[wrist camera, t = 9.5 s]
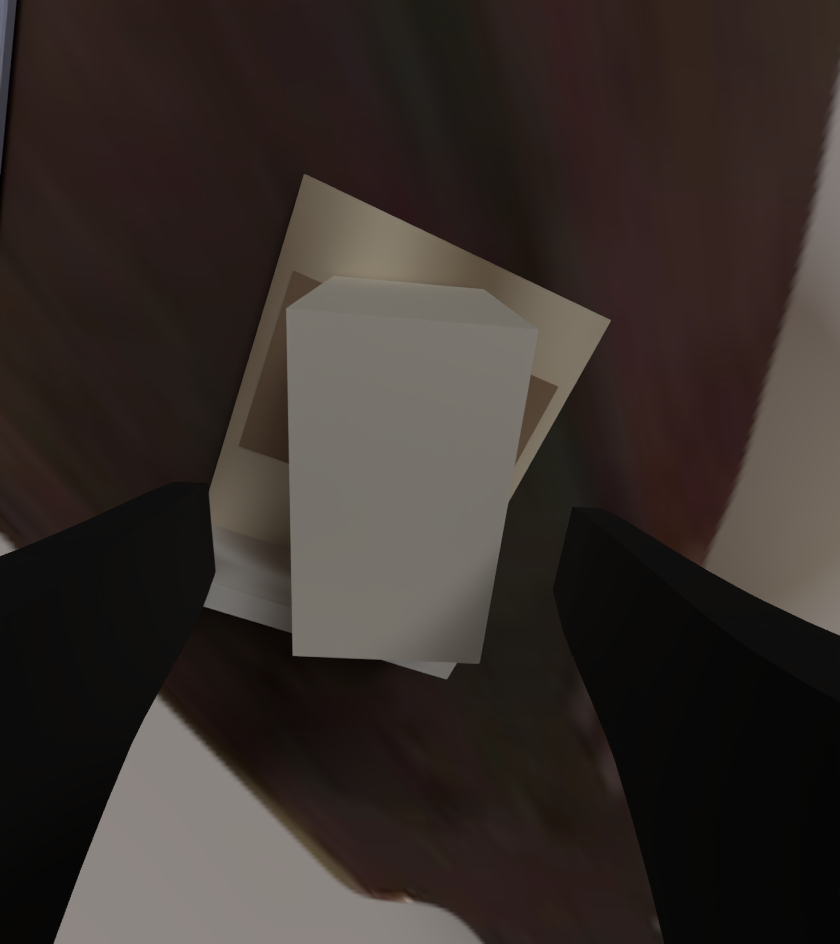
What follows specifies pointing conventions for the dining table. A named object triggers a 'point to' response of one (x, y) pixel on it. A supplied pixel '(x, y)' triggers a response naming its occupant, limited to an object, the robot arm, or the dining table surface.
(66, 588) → the robot arm
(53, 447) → the dining table surface
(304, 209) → the cream tray
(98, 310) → the dining table surface
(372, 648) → the carton
